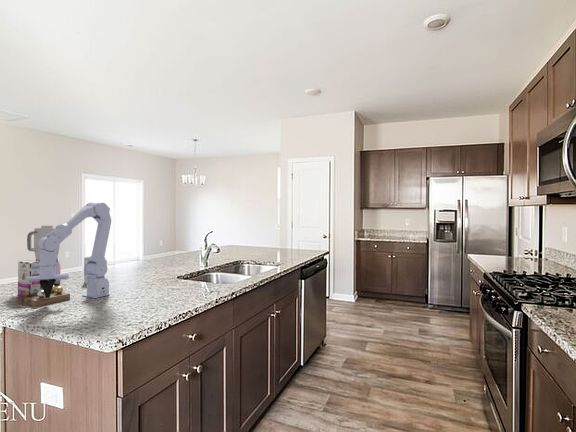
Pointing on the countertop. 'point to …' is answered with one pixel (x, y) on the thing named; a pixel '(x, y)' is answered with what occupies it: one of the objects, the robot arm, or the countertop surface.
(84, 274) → the syrup box
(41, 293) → the steel ball
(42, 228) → the blender
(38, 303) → the brown square tray
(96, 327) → the countertop surface
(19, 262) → the candy bar box
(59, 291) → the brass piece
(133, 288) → the countertop surface
